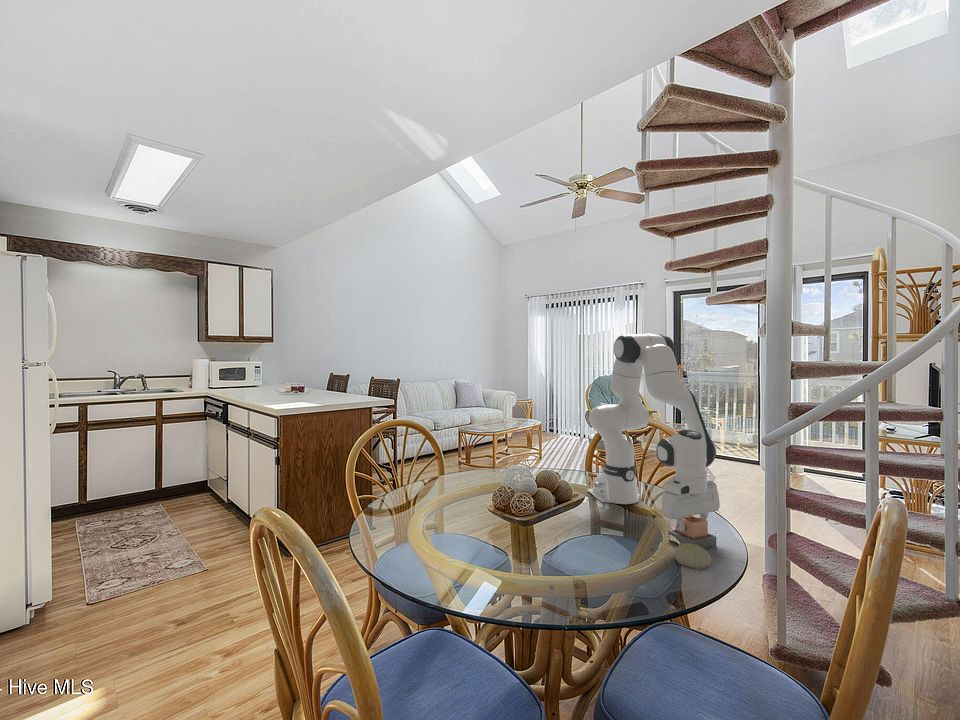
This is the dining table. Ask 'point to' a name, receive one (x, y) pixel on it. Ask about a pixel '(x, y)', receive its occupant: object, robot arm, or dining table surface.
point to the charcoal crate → (703, 542)
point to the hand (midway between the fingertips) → (692, 528)
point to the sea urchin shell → (692, 556)
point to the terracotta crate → (694, 528)
